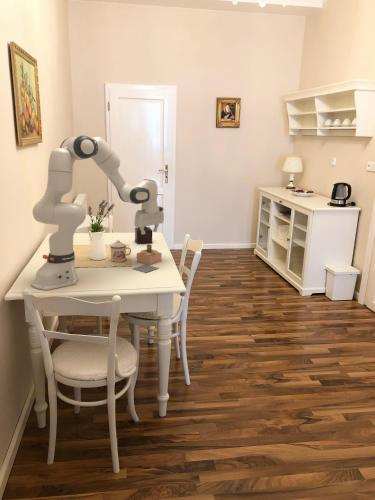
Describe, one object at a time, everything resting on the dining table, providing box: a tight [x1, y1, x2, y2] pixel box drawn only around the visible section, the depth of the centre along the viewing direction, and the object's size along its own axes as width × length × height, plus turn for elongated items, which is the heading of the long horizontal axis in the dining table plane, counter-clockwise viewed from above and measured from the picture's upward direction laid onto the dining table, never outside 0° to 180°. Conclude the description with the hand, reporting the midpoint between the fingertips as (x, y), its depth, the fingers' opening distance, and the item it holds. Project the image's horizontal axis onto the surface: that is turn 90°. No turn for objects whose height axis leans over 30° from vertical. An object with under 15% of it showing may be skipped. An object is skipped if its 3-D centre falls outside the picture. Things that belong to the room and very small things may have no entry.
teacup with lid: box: [110, 239, 132, 263], centre depth 234 cm, size 12×9×12 cm
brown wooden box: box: [134, 226, 153, 245], centre depth 270 cm, size 16×11×18 cm
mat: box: [132, 264, 160, 274], centre depth 221 cm, size 10×10×1 cm
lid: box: [139, 244, 159, 256], centre depth 232 cm, size 10×10×5 cm
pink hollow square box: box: [136, 251, 162, 266], centre depth 233 cm, size 10×10×5 cm
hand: (149, 233), depth 229 cm, fingers open, 8 cm apart
